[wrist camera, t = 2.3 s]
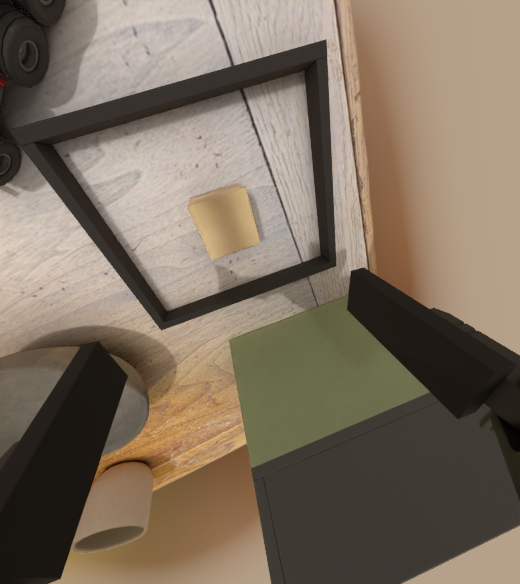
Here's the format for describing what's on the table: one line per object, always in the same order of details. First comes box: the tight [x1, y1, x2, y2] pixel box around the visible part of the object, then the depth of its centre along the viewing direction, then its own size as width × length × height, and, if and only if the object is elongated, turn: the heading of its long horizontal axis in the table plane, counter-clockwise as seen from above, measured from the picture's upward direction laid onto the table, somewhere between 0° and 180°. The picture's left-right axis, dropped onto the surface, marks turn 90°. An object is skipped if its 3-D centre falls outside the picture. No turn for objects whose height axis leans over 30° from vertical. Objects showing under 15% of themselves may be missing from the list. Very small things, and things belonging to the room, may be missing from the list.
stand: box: [229, 295, 430, 468], centre depth 33 cm, size 24×15×18 cm, turn 105°
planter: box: [71, 462, 153, 553], centre depth 44 cm, size 12×12×11 cm
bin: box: [251, 392, 520, 584], centre depth 22 cm, size 24×15×9 cm, turn 105°
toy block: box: [188, 183, 260, 260], centre depth 22 cm, size 6×6×6 cm
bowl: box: [0, 346, 149, 458], centre depth 28 cm, size 21×21×8 cm
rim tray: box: [9, 40, 336, 330], centre depth 23 cm, size 26×22×2 cm
